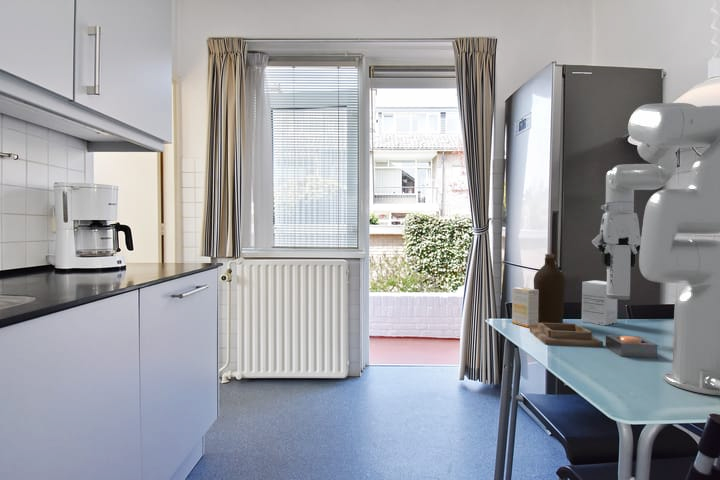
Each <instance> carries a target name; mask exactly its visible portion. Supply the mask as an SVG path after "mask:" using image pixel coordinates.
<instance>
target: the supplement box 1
mask: <svg viewBox="0 0 720 480" xmlns="http://www.w3.org/2000/svg"><path fill="white" fill-rule="evenodd" d="M511 291H512V292H511V295H512V298H511V300H512V301H511V306H512V307H511V323H512V324H513V323H514V324H515V325H517V324H518V326H521V325H522V326H521V327H524V326H525V327H524V328H528V327H538V298H539V290H537V289H534V288H530V287H524V286H523V287H522V286H518V287H512V288H511Z"/></svg>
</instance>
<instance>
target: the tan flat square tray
mask: <svg viewBox="0 0 720 480" xmlns="http://www.w3.org/2000/svg"><path fill="white" fill-rule="evenodd" d="M529 333H531V334H532V335H533V336H535V337H536V338H537V339H538V340H539V341H540V342H542V343H543V344H544V345H554V346H557V345H558V346H575V347H576V346H577V347H578V346H579V347H599V348H600V347H601V348H602V347H603V346H604V341H602V339H599V338H597V337H596V336H593V331H592V330H589V329H587V328H585V327H584V326H582V325H580V324H577V323H566V322H565V323H564V322H563V323H540V322H539V323H538V327H530V328H529Z"/></svg>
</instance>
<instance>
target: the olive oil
mask: <svg viewBox="0 0 720 480" xmlns="http://www.w3.org/2000/svg"><path fill="white" fill-rule="evenodd" d="M544 256H545V257H544V264H543V266H542V267H540V269H538V270H537V272H536V273H535V274H534V277H533V289H537V290H539V298H538V323H539V322H540V323H564V308H565V307H564V306H565V294H566V285H567V283H566V278H565V275H564V273H563V272H562V271H561V270H560V269H559V268H558V267H557V266H556V264H555V263H556V258H555V256H556V255H555V253H554V254H553V253H545V255H544Z"/></svg>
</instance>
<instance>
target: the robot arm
mask: <svg viewBox="0 0 720 480" xmlns="http://www.w3.org/2000/svg"><path fill="white" fill-rule="evenodd" d="M627 131H628V135H629V136H630V138H631V139H632V140H634V141H636V142H638V143H637V146H636V148H637V153H638V154H639V156H640V158H642V159H643V160H644V161H646V162H647V163H633V164H632V163H627V164H623V163H622V164H617V165H615V166H614V167H613V168H612V169H610V170H608V171H607V172H606V175H605V203H604V204H601V206H600V210H604V212H605V213H602V218H601V223H600V229H599V234H597V236H596V237H595V238H592V240H591V243H592V244H593V245H594V246H595V247H596V249H598V251H599V252H600V253H601V255H602V256H601V257H602V258H601V263H602V264H603V265H602V266H603V267H607V266H610V254H609V250H610V248H611V245H616V244H618V243H619V242H618V239H619V238H625V237H629V242H628V243H629V245H631V247H630V248H631V264H630V268H634V267H635V264H636V254H639V255H638V268H639V271H640V274H641V275H642V276H643V277H644V279H646V280H647V281H650V282H655V283H670V284H671V283H672V284H685V285H684V287H683V288H682V289H681V290H680V291H679V293H678V294H677V296H676V298H675V300H674V301H675V302H674V312H673V313H674V314H673V316H674V317H673V342H672V346H673V348H672V370H668V371H665V372H664V373H663V379H664V381H665V382H666V383H668V384H670V385H672V386H675V387H677V388H679V389H682V390H686V391H689V392H690V391H691V392H693V393H694V392H695V393H700V394H705V395H711V396H712V395H713V396H720V240H715V239H708V238H706V239H704V238H703V239H702V238H696V239H695V238H685V239H684V238H681V239H680V238H677V239H676V236H677V234H685V235H686V234H689V235H692V234H693V235H694V234H695V235H700V234H701V235H711V234H713V235H715V234H720V105H718V104H717V105H701V106H700V105H697V106H696V105H694V104H691V103H688V102H667V103H665V102H662V103H645V104H643V105H640V106H638V107H637V108H636V109H635V110H634V111H633V112H632V114H631V115H630V118H629V120H628V124H627ZM695 147H696V148H697V147H698V148H700V147H708V148H706V149H705V150H704V151H703V152H702V153H701V154H700V155H699V156H698V157H697V158H696V160H695V161H694V162H693V164H692V166H691V169H690V172H689V173H690V176H689V182H688V185H687V187H686V188H667V189H661V188H662V187H664V186H665V185H666V184H668V182H669V181H670V180H671V179H673V177H674V176H675V174H676V171H677V167H678V157H677V154H676V152H678V150H679V149H680V148H695ZM658 189H659V190H658ZM660 189H661V190H660ZM641 190H642V191H643V190H644V191H654V190H658V191H656V192H654V193H653V194H652V195H651V196H650V197H649V199H648V201H647V202H646V205H645V209H644V213H643V214H644V215H643V220H642V229H641V230H640V223H639V217H638V213H637V212H634V211H635V209H634V208H635V205H634V204H635V203H634V202H635V191H641ZM640 231H641V232H640ZM638 252H639V253H638Z"/></svg>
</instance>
